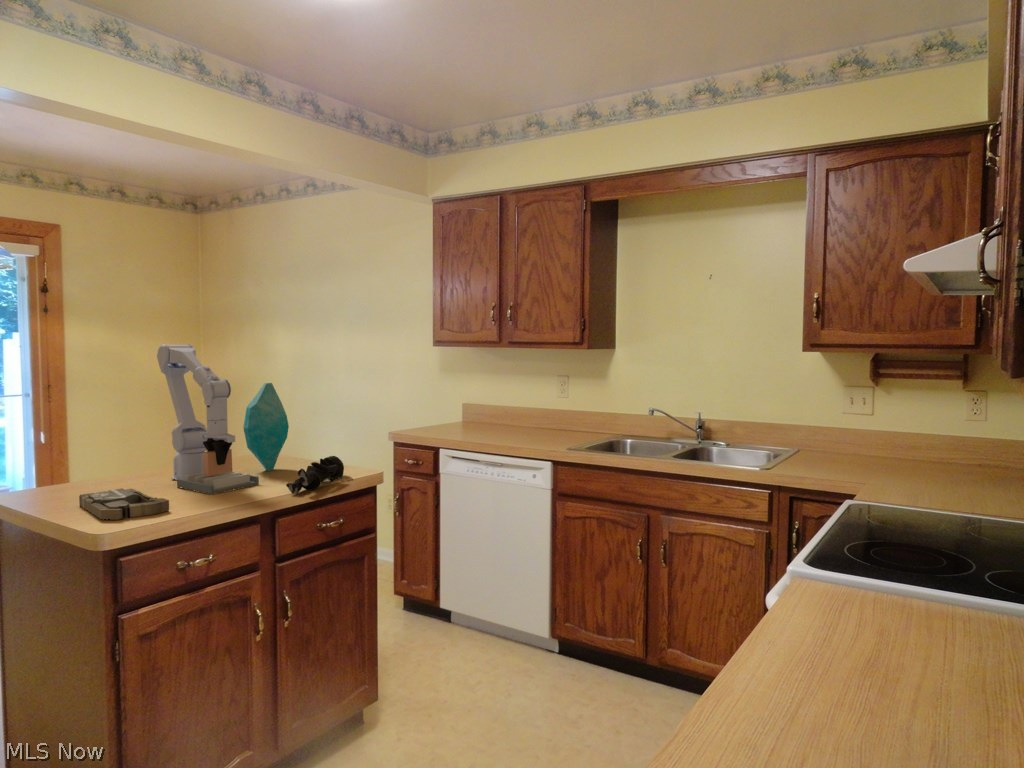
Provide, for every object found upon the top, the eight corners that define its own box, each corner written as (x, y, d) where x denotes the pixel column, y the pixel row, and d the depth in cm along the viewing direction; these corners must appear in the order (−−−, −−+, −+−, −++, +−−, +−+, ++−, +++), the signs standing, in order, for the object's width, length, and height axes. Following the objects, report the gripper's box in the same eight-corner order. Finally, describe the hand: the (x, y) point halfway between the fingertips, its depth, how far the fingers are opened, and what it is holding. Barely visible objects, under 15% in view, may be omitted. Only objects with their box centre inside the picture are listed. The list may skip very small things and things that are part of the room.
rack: (177, 487, 196) (176, 475, 196) (224, 478, 210) (224, 467, 210) (211, 494, 187) (211, 482, 187) (258, 484, 201) (258, 473, 201)
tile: (203, 475, 196) (202, 452, 195) (227, 470, 202) (226, 448, 202) (208, 476, 194) (207, 453, 194) (232, 471, 201) (231, 449, 201)
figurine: (283, 496, 189) (280, 469, 188) (332, 476, 218) (329, 452, 218) (310, 495, 187) (307, 467, 187) (355, 474, 216) (353, 450, 216)
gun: (139, 484, 185) (77, 493, 174) (171, 499, 168) (105, 509, 157) (140, 497, 185) (78, 507, 174) (171, 513, 168) (105, 525, 157)
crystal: (241, 469, 224) (239, 382, 222) (281, 465, 232) (280, 381, 230) (252, 475, 214) (251, 384, 212) (294, 470, 223) (292, 383, 221)
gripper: (190, 419, 198) (191, 463, 199) (219, 422, 190) (220, 468, 191) (211, 417, 204) (212, 459, 205) (241, 420, 196) (241, 464, 197)
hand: (218, 463), depth 198 cm, fingers closed on tile, 2 cm apart
